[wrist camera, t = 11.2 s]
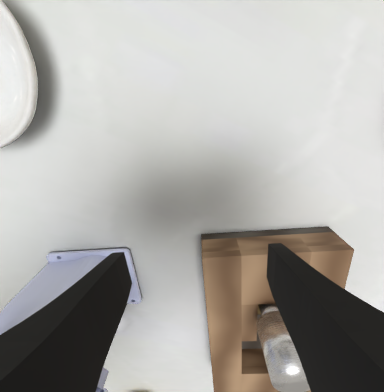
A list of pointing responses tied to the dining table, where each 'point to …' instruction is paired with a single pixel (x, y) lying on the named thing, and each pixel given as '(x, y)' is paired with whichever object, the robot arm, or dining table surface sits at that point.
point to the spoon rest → (15, 79)
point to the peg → (280, 351)
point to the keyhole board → (255, 295)
